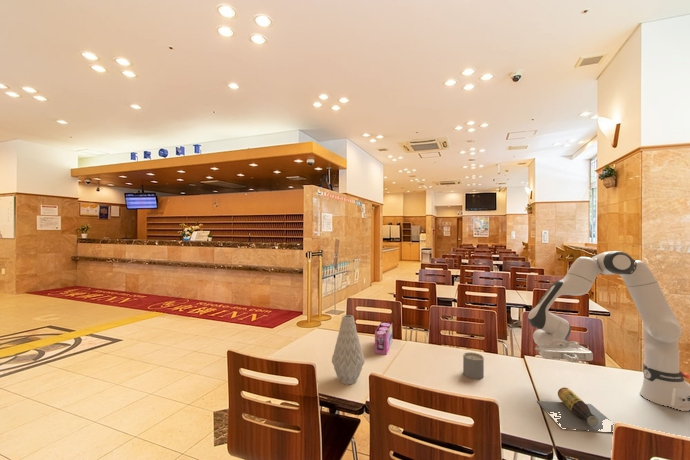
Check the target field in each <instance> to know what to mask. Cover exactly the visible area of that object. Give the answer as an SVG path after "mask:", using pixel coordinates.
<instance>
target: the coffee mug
mask: <svg viewBox="0 0 690 460" xmlns="http://www.w3.org/2000/svg"><path fill="white" fill-rule="evenodd" d="M462 357H463V359H462V360H463V362H462V363H463V366H462V367H463V369H462V371H463V372H462V373H463V376H465V377H466V378H468V379H471V380H482V379H484V377H485V375H484V374H485V371H484V370H485V369H484V368H485V367H484V363H485V361H484V360H485V358H484V355H482V354H479V353H476V352H470V351H469V352H465V353H463V355H462Z"/></svg>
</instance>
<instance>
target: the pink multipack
mask: <svg viewBox="0 0 690 460" xmlns="http://www.w3.org/2000/svg"><path fill="white" fill-rule="evenodd" d="M392 345H393V322H388V321H381V322H380V323H379V324H378V326H377V328H376V329H375V331H374V354H378V355H388V353H389V351H390V349H391V347H392Z"/></svg>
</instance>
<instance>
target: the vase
mask: <svg viewBox="0 0 690 460" xmlns="http://www.w3.org/2000/svg"><path fill="white" fill-rule="evenodd" d="M331 363H332V365H333V369H334V372H335V374H336V377H337V378H338V380H339V381H338V382H340V383H341V384H343V385H352V384H355V383H357V381H358V379H359V377H360V375H361V372H362V369H363V365H364V364H365V356H364V354H363V350H362V347H361V341H360V338H359V335H358V331H357V325H356V321H355V318H354V315H351V314H344V315H343V316H342V318H341V322H340V325H339V332H338V334H337V338H336V343H335V346H334V351H333V353H332V357H331Z"/></svg>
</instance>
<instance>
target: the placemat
mask: <svg viewBox="0 0 690 460" xmlns="http://www.w3.org/2000/svg"><path fill="white" fill-rule="evenodd" d="M536 402H537V404H538V406H540V407H541V408H542V409H543V408H544V409H545V410H546V411H547V412H548V413H549V414H553V413H550V412H554V413H557V416H561V418H560V417H555V416H554V418H560V419H557V421H558V422H557V423H558V424H559V423H560V424H561V427H562V428H566V429H576V430H589V431H588V432H590V431H598V430H599V429H600V430H601V429H603V425H602V423H603V422H602V421H603V420H605V419H608V420H610V418H608V417H607V416H606V415H605V414H603V413H602V412H601V411H600V410H599V409H597V408H596V407H595V406H594V405H593V404H592V403H585V404H586V405H587V406H588V408H589V409H590V412H591V413H592V414H593V415H595V416H596V417H597V419H598V424H597V425H596V426H590V425H589V424H588V423H587V422H586V421H585V420H584V419H583V418H580V417H577V416H576V415H575V414H574V413H573V412H572V411H571V410H570V409H569V408H568V407H567V406H566V405H565V404H564V403H563V402H562V401H550V400H549V401H548V400H547V401H546V400H536ZM544 409H543V410H544ZM545 410H544V411H545ZM546 411H545V412H546ZM547 412H546V413H547ZM558 412H560V413H558ZM559 414H561V415H559ZM614 424H615V423H614ZM614 424H613V425H614ZM613 425H611V432H612V431H613ZM576 430H575V431H576Z"/></svg>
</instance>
